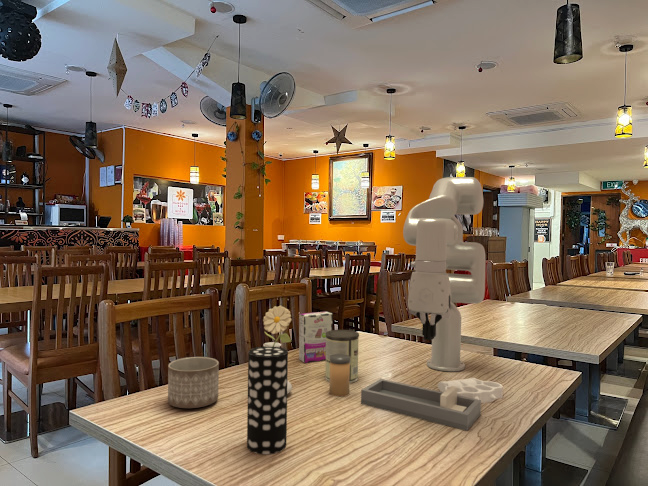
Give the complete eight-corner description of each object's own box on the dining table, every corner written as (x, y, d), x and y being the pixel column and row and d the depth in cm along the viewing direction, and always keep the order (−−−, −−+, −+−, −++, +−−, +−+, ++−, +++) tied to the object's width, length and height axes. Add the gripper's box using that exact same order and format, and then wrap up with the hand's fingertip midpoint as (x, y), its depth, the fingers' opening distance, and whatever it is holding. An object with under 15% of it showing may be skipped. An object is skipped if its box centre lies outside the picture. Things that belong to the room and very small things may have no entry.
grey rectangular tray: (380, 391, 133) (380, 378, 132) (480, 414, 117) (480, 400, 117) (360, 403, 123) (361, 389, 123) (467, 430, 108) (467, 414, 108)
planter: (167, 396, 125) (167, 358, 125) (215, 392, 130) (215, 355, 129) (168, 415, 114) (169, 372, 113) (221, 409, 118) (221, 368, 118)
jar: (336, 387, 135) (336, 352, 135) (353, 391, 132) (354, 356, 132) (325, 393, 130) (325, 357, 130) (342, 397, 127) (343, 360, 127)
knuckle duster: (478, 385, 141) (514, 402, 127) (428, 391, 134) (460, 410, 121) (479, 374, 141) (514, 390, 127) (428, 380, 134) (460, 397, 121)
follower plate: (451, 404, 120) (451, 385, 120) (468, 408, 117) (469, 389, 117) (439, 415, 113) (440, 395, 113) (458, 420, 110) (458, 399, 110)
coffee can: (326, 372, 149) (327, 328, 149) (358, 374, 148) (359, 330, 148) (323, 383, 139) (323, 336, 138) (357, 384, 138) (358, 337, 137)
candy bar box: (326, 356, 168) (326, 311, 168) (332, 359, 164) (333, 313, 163) (297, 359, 163) (298, 313, 163) (303, 363, 159) (304, 315, 158)
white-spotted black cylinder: (248, 436, 103) (249, 346, 102) (286, 435, 103) (287, 346, 103) (245, 454, 94) (246, 357, 94) (286, 453, 95) (288, 357, 94)
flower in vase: (242, 393, 129) (243, 303, 128) (273, 383, 137) (274, 299, 137) (273, 406, 120) (274, 310, 119) (304, 395, 128) (306, 305, 128)
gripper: (397, 266, 119) (395, 337, 120) (455, 270, 111) (453, 346, 111) (409, 264, 125) (407, 332, 126) (464, 268, 117) (462, 340, 118)
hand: (428, 338), depth 119 cm, fingers closed
